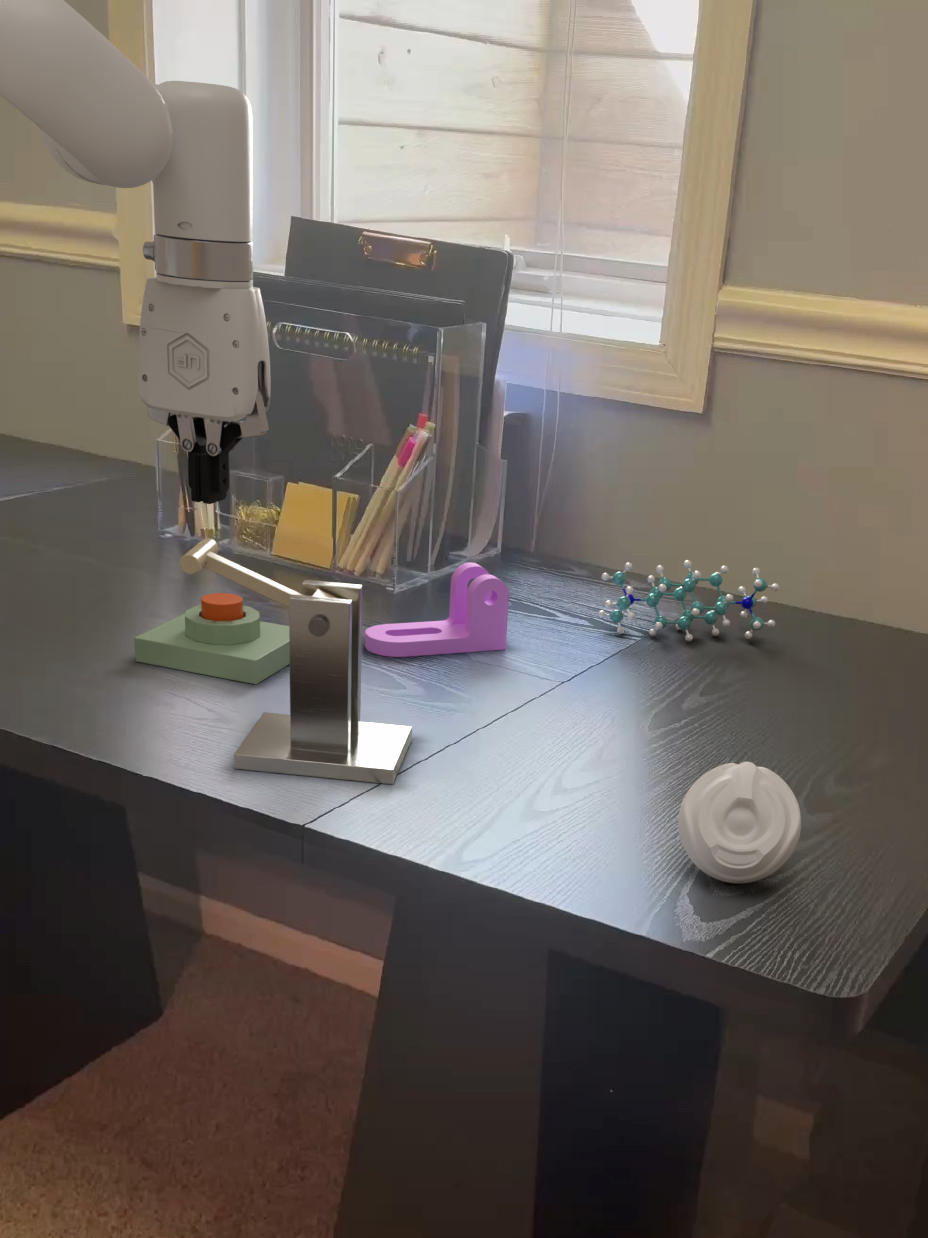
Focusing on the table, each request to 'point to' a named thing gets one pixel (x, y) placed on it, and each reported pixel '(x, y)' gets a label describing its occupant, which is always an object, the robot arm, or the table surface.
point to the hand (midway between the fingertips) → (209, 499)
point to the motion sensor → (739, 822)
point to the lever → (236, 572)
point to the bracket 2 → (452, 621)
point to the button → (222, 607)
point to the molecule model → (680, 595)
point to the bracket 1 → (325, 699)
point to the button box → (217, 646)
